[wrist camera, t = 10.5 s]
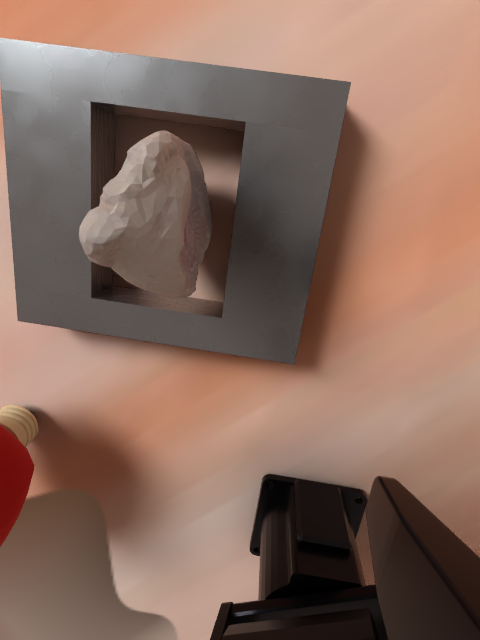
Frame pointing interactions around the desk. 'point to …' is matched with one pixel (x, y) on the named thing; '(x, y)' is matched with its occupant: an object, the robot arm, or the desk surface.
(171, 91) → the socket block
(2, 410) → the light bulb
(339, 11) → the desk surface
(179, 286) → the pale grey rock
